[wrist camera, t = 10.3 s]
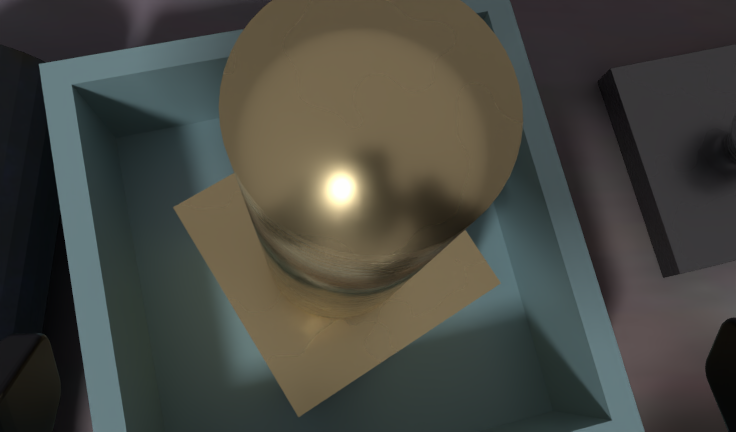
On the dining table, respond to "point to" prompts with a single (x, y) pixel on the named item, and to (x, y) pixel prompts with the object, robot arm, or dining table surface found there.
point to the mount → (680, 152)
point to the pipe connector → (25, 196)
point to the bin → (220, 321)
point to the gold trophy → (355, 180)
